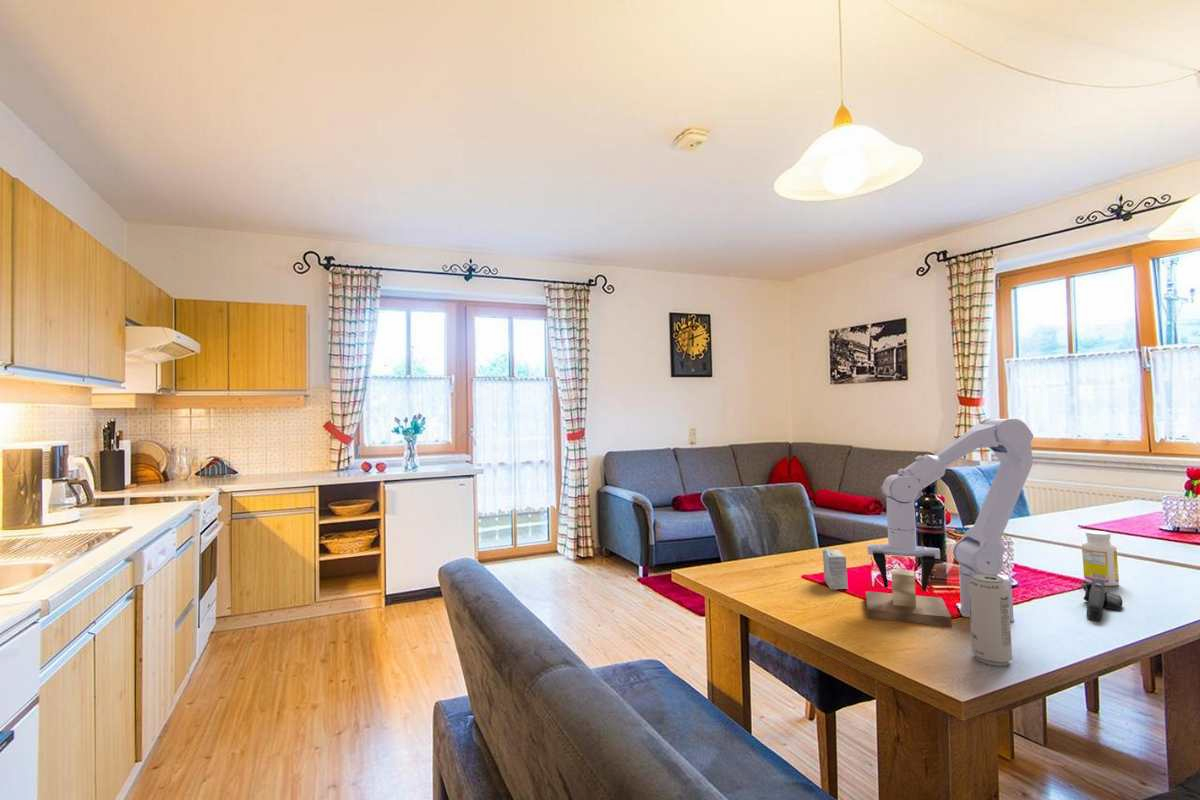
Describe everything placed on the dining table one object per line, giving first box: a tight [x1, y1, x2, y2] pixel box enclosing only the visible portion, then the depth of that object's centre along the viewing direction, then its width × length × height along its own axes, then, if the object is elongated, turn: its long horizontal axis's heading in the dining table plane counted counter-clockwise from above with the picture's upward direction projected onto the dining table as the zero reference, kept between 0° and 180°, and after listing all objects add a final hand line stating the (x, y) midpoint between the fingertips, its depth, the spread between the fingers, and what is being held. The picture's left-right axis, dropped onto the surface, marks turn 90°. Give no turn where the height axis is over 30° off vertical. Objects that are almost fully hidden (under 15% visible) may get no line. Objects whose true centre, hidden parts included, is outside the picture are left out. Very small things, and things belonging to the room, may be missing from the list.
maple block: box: [891, 568, 917, 608], centre depth 127 cm, size 4×4×7 cm
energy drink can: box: [968, 574, 1013, 667], centre depth 102 cm, size 6×6×15 cm
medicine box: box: [822, 549, 849, 591], centre depth 148 cm, size 8×4×9 cm, turn 168°
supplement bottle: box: [1081, 530, 1120, 587], centre depth 142 cm, size 7×7×13 cm
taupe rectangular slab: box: [865, 591, 953, 627], centre depth 127 cm, size 16×13×2 cm
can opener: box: [1080, 579, 1124, 622], centre depth 124 cm, size 18×7×6 cm, turn 132°
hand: (904, 587), depth 127 cm, fingers open, 7 cm apart
